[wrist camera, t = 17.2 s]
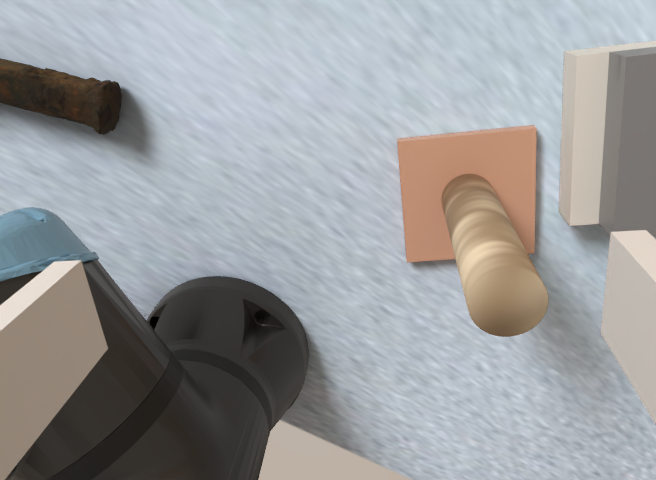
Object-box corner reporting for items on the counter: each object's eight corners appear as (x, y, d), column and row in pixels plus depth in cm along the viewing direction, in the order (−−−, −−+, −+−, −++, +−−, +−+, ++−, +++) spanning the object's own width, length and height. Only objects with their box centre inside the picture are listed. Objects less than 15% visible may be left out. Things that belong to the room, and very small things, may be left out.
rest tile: (406, 256, 47) (406, 262, 46) (397, 138, 44) (397, 141, 43) (531, 248, 46) (534, 253, 45) (533, 125, 42) (536, 128, 41)
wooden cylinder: (442, 225, 45) (468, 338, 30) (440, 176, 43) (466, 271, 29) (494, 220, 44) (547, 334, 30) (494, 171, 43) (549, 265, 28)
